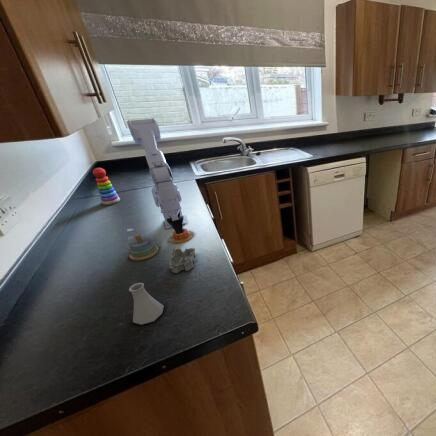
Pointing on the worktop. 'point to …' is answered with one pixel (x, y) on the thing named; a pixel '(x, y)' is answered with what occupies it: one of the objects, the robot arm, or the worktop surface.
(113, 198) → the stacking toy
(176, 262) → the egg carton
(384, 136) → the worktop surface
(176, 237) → the orange ring
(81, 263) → the worktop surface
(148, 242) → the ring stack
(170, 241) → the cork coaster
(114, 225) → the worktop surface
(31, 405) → the worktop surface
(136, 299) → the flask
